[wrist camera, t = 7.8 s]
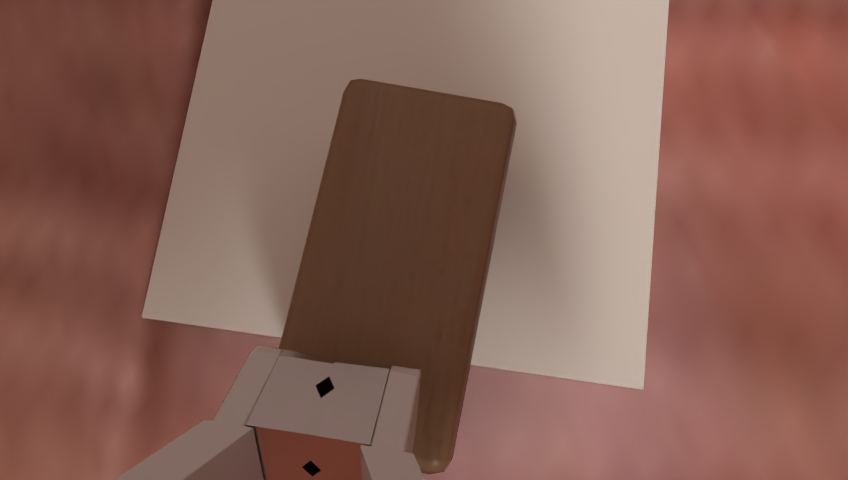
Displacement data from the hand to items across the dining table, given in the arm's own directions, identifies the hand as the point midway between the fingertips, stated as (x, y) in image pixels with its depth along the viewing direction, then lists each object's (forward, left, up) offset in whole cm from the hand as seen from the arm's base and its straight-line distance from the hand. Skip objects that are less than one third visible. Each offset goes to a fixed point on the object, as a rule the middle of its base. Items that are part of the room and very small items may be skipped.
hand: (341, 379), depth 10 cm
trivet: (-3, -6, -5) cm, 8 cm away
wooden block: (+1, +2, -3) cm, 3 cm away
